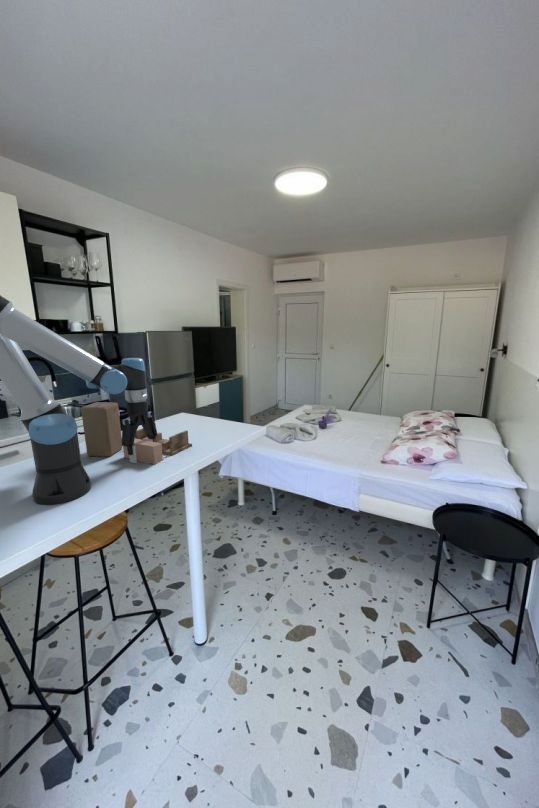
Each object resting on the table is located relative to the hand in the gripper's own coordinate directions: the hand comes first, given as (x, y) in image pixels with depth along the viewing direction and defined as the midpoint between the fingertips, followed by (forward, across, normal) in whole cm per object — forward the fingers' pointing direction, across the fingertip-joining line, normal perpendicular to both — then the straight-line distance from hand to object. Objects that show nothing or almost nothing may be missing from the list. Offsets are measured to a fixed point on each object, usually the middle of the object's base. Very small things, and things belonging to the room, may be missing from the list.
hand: (142, 458), depth 127 cm
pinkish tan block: (+1, 0, 0) cm, 1 cm away
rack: (0, +14, +3) cm, 14 cm away
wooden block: (+1, -1, +19) cm, 19 cm away
